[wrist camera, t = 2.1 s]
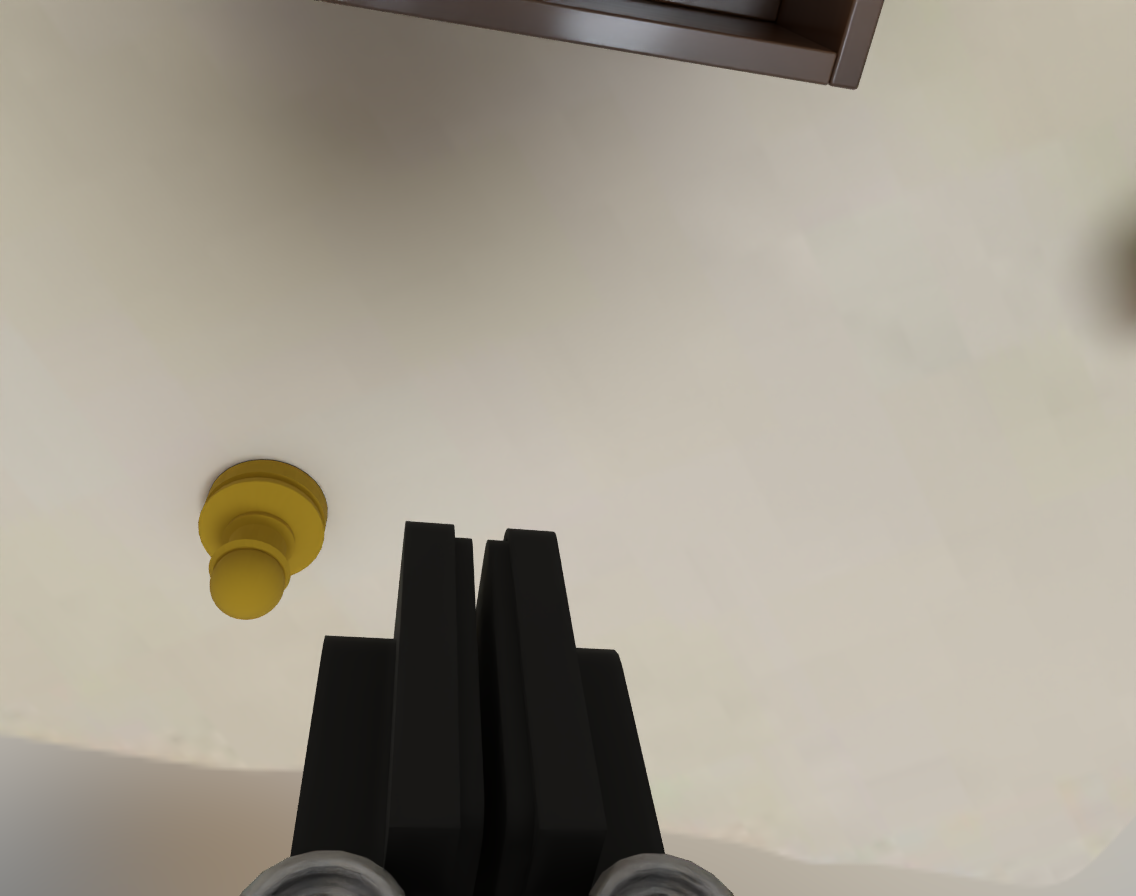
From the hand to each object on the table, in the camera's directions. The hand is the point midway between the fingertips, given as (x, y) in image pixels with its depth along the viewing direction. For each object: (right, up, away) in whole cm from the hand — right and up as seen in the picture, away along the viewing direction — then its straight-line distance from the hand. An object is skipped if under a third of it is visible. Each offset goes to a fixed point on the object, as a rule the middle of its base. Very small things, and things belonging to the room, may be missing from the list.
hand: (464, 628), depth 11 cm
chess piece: (-9, 0, +21) cm, 23 cm away
